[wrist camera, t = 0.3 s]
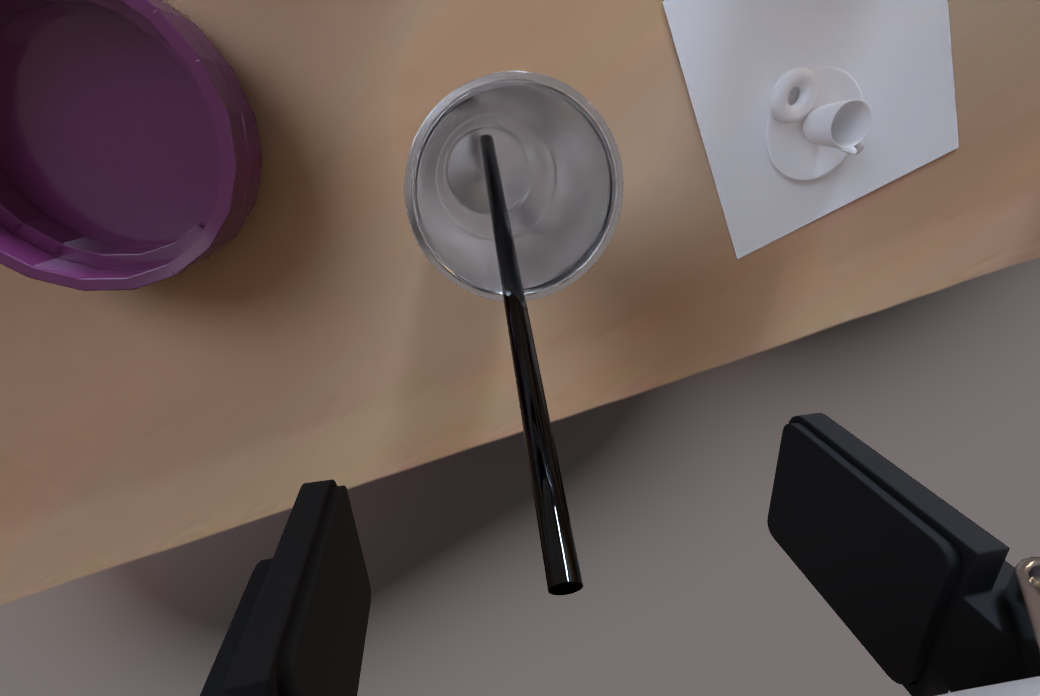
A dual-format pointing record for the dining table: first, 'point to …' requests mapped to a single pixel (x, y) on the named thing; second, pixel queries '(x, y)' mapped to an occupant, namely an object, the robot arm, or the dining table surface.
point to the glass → (519, 234)
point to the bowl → (117, 143)
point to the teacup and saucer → (813, 101)
